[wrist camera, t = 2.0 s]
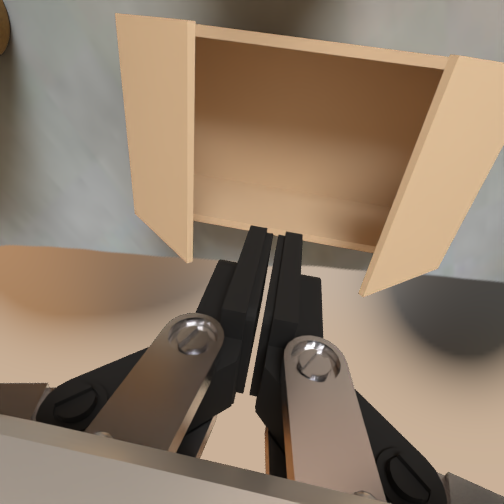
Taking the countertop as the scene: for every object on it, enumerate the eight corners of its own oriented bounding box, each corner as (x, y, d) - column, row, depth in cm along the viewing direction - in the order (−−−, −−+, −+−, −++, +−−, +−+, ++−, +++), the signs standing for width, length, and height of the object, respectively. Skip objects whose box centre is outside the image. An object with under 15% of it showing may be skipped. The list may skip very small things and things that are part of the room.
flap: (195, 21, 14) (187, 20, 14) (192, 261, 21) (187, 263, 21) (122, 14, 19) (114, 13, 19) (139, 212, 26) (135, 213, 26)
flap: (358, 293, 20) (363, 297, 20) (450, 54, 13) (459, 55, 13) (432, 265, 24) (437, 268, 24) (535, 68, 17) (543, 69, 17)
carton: (472, 62, 25) (541, 69, 17) (408, 215, 32) (436, 266, 24) (173, 23, 27) (117, 13, 19) (176, 176, 34) (136, 212, 26)
